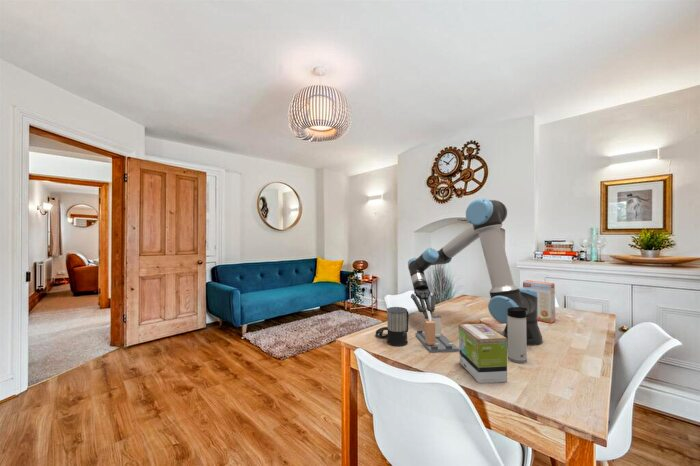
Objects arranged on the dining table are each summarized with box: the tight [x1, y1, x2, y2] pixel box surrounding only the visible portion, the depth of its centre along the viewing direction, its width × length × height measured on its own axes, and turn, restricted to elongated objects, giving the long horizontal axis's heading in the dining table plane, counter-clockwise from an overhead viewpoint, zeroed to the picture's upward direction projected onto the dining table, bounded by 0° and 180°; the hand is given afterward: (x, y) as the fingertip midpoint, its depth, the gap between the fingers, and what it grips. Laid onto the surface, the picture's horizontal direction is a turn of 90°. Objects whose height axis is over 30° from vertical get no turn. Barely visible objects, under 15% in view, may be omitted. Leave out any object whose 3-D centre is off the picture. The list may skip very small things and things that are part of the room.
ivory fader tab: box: [431, 314, 442, 337], centre depth 133 cm, size 3×4×9 cm
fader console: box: [415, 320, 459, 354], centre depth 128 cm, size 20×12×11 cm, turn 4°
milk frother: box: [375, 306, 410, 347], centre depth 133 cm, size 14×16×15 cm
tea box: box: [458, 323, 508, 384], centre depth 101 cm, size 15×10×15 cm
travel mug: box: [507, 307, 528, 364], centre depth 111 cm, size 6×7×20 cm
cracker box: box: [522, 280, 556, 324], centre depth 161 cm, size 14×6×21 cm, turn 35°
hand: (430, 324), depth 139 cm, fingers closed
